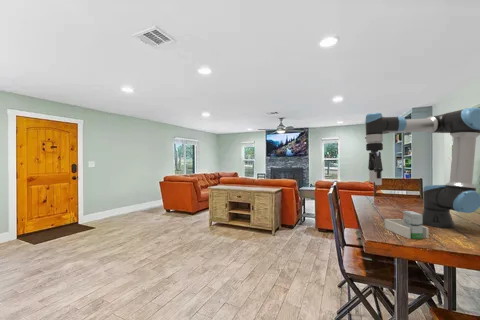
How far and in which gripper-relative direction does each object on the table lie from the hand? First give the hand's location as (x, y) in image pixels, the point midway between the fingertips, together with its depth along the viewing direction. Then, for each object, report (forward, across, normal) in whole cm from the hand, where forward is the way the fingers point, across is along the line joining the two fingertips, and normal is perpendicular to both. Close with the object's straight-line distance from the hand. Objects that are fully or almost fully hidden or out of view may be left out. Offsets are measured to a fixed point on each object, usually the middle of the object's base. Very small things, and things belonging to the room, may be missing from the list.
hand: (375, 183), depth 121 cm
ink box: (+26, +1, +16) cm, 30 cm away
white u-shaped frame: (+26, -4, +14) cm, 30 cm away
